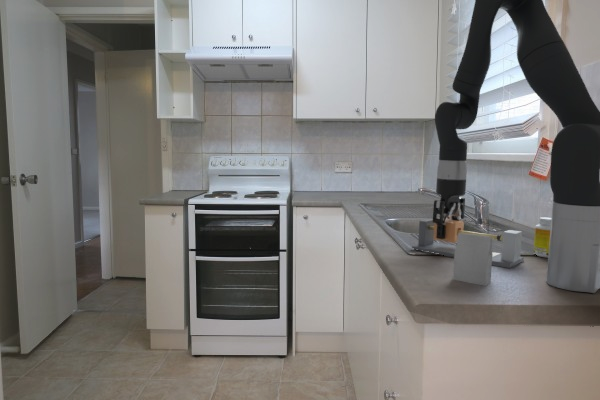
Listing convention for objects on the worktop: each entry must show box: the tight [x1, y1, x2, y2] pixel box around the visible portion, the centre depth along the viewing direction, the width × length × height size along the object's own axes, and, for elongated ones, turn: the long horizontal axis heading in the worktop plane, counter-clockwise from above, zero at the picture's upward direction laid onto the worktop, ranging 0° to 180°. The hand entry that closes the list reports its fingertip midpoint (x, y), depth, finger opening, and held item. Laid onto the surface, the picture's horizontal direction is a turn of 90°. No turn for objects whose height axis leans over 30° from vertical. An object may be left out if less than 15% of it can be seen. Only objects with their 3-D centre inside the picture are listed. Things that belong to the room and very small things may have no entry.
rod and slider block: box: [411, 218, 525, 269], centre depth 117 cm, size 26×10×8 cm, turn 46°
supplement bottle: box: [532, 216, 552, 259], centre depth 118 cm, size 6×6×10 cm
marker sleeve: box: [433, 218, 465, 244], centre depth 120 cm, size 6×5×5 cm
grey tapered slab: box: [452, 233, 493, 287], centre depth 93 cm, size 4×7×10 cm, turn 53°
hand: (447, 236), depth 120 cm, fingers open, 8 cm apart
